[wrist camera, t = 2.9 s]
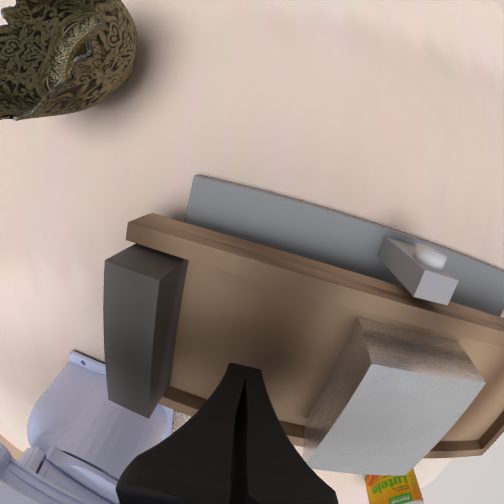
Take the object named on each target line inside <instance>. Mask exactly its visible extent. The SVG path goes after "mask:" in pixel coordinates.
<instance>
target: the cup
mask: <svg viewBox="0 0 504 504" xmlns="http://www.w3.org/2000/svg"><path fill="white" fill-rule="evenodd" d="M17 2H18V3H17ZM1 14H2V17H3V18H4V19H5V20H6V21H7V22H8V24H7V25H1V26H0V120H1V119H14V120H16V121H18V120H22V119H30V118H38V117H46V116H55V115H62V114H69V113H74V112H77V111H81V110H84V109H87V108H89V107H91V106H93V105H95V104H97V103H99V102H100V101H102V100H104V99H105V98H106V97H107V96H109V95H110V94H111V93H112V92H113V91H114V90H116V89H117V88H119V87H120V86H121V85H123V84H124V83H125V82H126V80H127V79H128V78H129V76H130V74H131V72H132V70H133V67H134V57H135V53H136V48H137V34H136V28H135V25H134V22H133V19H132V17H131V16H130V14H129V12H128V10H127V8H126V7H125V6H124V4H123V3H122V1H121V0H16V5H15V6H14V7H12V6H9V7H5V8H2V9H1Z"/></svg>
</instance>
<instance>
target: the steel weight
mask: <svg viewBox="0 0 504 504" xmlns="http://www.w3.org/2000/svg"><path fill="white" fill-rule="evenodd" d="M485 383H486V382H485V381H484V379H483V377H482V376H481V374H480V373H479V371H478V370H477V368H476V367H475V365H474V364H473V362H472V361H471V359H470V358H469V356H468V355H467V353H466V352H465V350H464V349H463V347H462V346H461V344H460V343H459V342H458V341H456V340H451V339H447V338H443V337H439V336H435V335H431V334H426V333H422V332H418V331H414V330H410V329H406V328H403V327H399V326H395V325H391V324H387V323H383V322H379V321H375V320H372V319H368V318H364V317H360V316H358V317H357V320H356V322H355V324H354V326H353V328H352V330H351V333H350V335H349V337H348V339H347V341H346V343H345V345H344V347H343V349H342V351H341V353H340V355H339V357H338V359H337V361H336V363H335V365H334V367H333V369H332V371H331V373H330V375H329V377H328V379H327V380H326V382H325V384H324V386H323V388H322V390H321V391H320V393H319V395H318V397H317V399H316V400H315V402H314V404H313V406H312V407H311V409H310V411H309V413H308V414H307V416H306V418H305V432H304V448H303V459H304V461H305V462H306V463H307V464H308V466H309V467H310V468H312V469H318V470H326V471H334V472H343V473H354V474H368V475H395V476H404V475H406V474H407V473H408V472H409V471H410V470H411V469H412V468H413V467H414V466H415V465H416V464H417V463H418V462H419V461H420V460H421V459H422V458H423V457H424V456H425V455H426V454H427V453H428V452H429V451H430V450H431V449H432V448H433V447H434V446H435V445H436V444H437V443H438V442H439V441H440V440H441V439H442V438H443V436H444V435H445V434H446V433H447V432H448V431H449V430H450V429H451V427H452V426H453V425H454V424H455V423H456V422H457V420H458V419H459V418H460V417H461V415H462V414H463V413H464V412H465V410H466V409H467V408H468V407H469V405H470V404H471V403H472V401H473V400H474V399H475V397H476V396H477V395H478V393H479V392H480V391H481V389H482V388H483V386H484V385H485Z"/></svg>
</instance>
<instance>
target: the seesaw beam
mask: <svg viewBox="0 0 504 504" xmlns="http://www.w3.org/2000/svg"><path fill="white" fill-rule="evenodd" d="M126 240H128V241H131V242H134V243H136V244H134V245H132V246H131V247H129V248H127V249H125V250H123V251H121V252H119V253H118V254H116V255H114V256H112V257H110V258H109V259H107V260H105V268H104V306H103V313H104V351H105V368H106V381H107V391H108V400H110V401H112V402H114V403H116V404H118V405H120V406H122V407H124V408H126V409H128V410H130V411H133V412H135V413H137V414H139V415H141V416H144V417H146V418H148V419H149V418H150V416H151V415H152V413H153V411H154V410H155V408H156V406H157V405H158V404H160V405H163V406H165V407H168V408H170V409H173V410H175V411H178V412H181V413H183V414H186V415H189V416H193V415H194V414H195V413H196V412H197V411H198V410H199V409H200V408H201V407H202V406H203V405H204V403H205V402H206V401H207V400H208V399H209V397H210V396H211V395H212V393H213V392H214V391H215V389H216V388H217V386H218V385H219V383H220V382H221V380H222V378H223V376H224V374H225V372H226V370H227V367H228V364H229V363H236V364H240V365H244V366H248V367H253V368H257V369H260V370H261V371H262V374H263V379H264V383H265V386H266V389H267V393H268V395H269V398H270V401H271V403H272V406H273V409H274V411H275V413H276V416H277V418H278V420H279V422H280V424H281V426H282V428H283V430H284V431H285V433H286V435H287V437H288V438H289V440H290V442H291V443H292V445H296V446H302V447H304V432H305V418H306V416H307V414H308V413H309V411H310V409H311V407H312V406H313V404H314V402H315V400H316V399H317V397H318V395H319V393H320V391H321V390H322V388H323V386H324V384H325V382H326V380H327V379H328V377H329V375H330V373H331V371H332V369H333V367H334V365H335V363H336V361H337V359H338V357H339V355H340V353H341V351H342V349H343V347H344V345H345V343H346V341H347V339H348V337H349V335H350V333H351V330H352V328H353V326H354V324H355V322H356V320H357V317H358V316H360V317H364V318H368V319H372V320H375V321H379V322H383V323H387V324H391V325H395V326H399V327H403V328H406V329H410V330H414V331H418V332H422V333H426V334H431V335H435V336H439V337H443V338H447V339H451V340H456V341H458V342H459V343H460V344H461V346H462V347H463V349H464V350H465V352H466V353H467V355H468V356H469V358H470V359H471V361H472V362H473V364H474V365H475V367H476V368H477V370H478V371H479V373H480V374H481V376H482V377H483V379H484V381H485V382H486V383H485V385H484V386H483V388H482V389H481V391H480V392H479V393H478V395H477V396H476V397H475V399H474V400H473V401H472V403H471V404H470V405H469V407H468V408H467V409H466V410H465V412H464V413H463V414H462V415H461V417H460V418H459V419H458V420H457V422H456V423H455V424H454V425H453V426H452V427H451V429H450V430H449V431H448V432H447V433H446V434H445V435H444V436H443V438H442V439H441V440H440V441H439V442H438V443H437V444H436V445H435V446H434V447H433V448H432V449H431V450H430V451H429V452H428V453H427V454H426V455H425V456H424V457H423V458H453V457H468V456H478V455H482V454H483V453H484V452H485V451H486V450H487V449H488V448H489V447H490V446H491V445H492V444H493V443H494V442H495V441H496V440H497V439H498V437H499V436H500V435H501V434H502V433H503V432H504V318H501V317H498V316H495V315H492V314H489V313H485V312H482V311H479V310H476V309H473V308H469V307H466V306H463V305H460V304H457V303H453V302H450V301H449V303H448V305H444V304H440V303H436V302H432V301H428V300H424V299H420V298H416V297H413V296H412V294H411V293H410V292H409V291H408V290H407V289H406V288H405V287H402V286H398V285H395V284H392V283H388V282H385V281H382V280H379V279H375V278H372V277H369V276H365V275H362V274H359V273H355V272H352V271H349V270H345V269H342V268H339V267H335V266H332V265H329V264H325V263H322V262H319V261H315V260H312V259H308V258H305V257H302V256H298V255H295V254H292V253H288V252H285V251H281V250H278V249H275V248H271V247H268V246H264V245H261V244H257V243H254V242H251V241H247V240H244V239H240V238H237V237H233V236H230V235H226V234H223V233H220V232H216V231H213V230H209V229H206V228H202V227H199V226H195V225H192V224H188V223H185V222H181V221H178V220H174V219H171V218H167V217H164V216H160V215H157V214H153V213H151V214H148V215H146V216H143V217H140V218H138V219H135V220H133V221H130V222H128V227H127V236H126Z"/></svg>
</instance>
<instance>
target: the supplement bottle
mask: <svg viewBox="0 0 504 504" xmlns="http://www.w3.org/2000/svg"><path fill="white" fill-rule="evenodd" d="M364 477H365V483H366V488H367V493H368V499H369V504H424V503H423V498H422V495H421V492H420V488H419V485H418V482H417V479H416V476H415V472H414V469H413V468H412V469H411V470H410V471H409V472H408V473H407V474H406V475H404V476H395V475H368V474H364Z"/></svg>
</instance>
